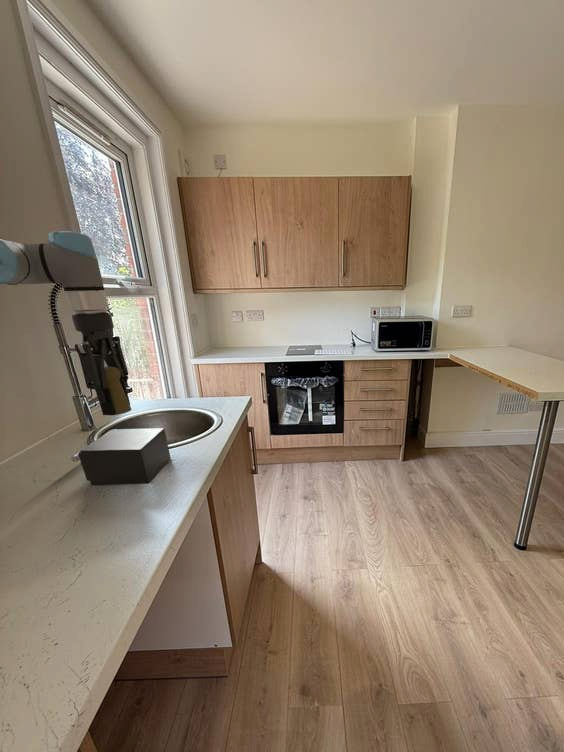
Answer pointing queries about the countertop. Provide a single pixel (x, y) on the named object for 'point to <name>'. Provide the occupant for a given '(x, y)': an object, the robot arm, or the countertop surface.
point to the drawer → (79, 457)
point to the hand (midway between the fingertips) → (117, 409)
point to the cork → (116, 390)
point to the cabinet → (126, 456)
